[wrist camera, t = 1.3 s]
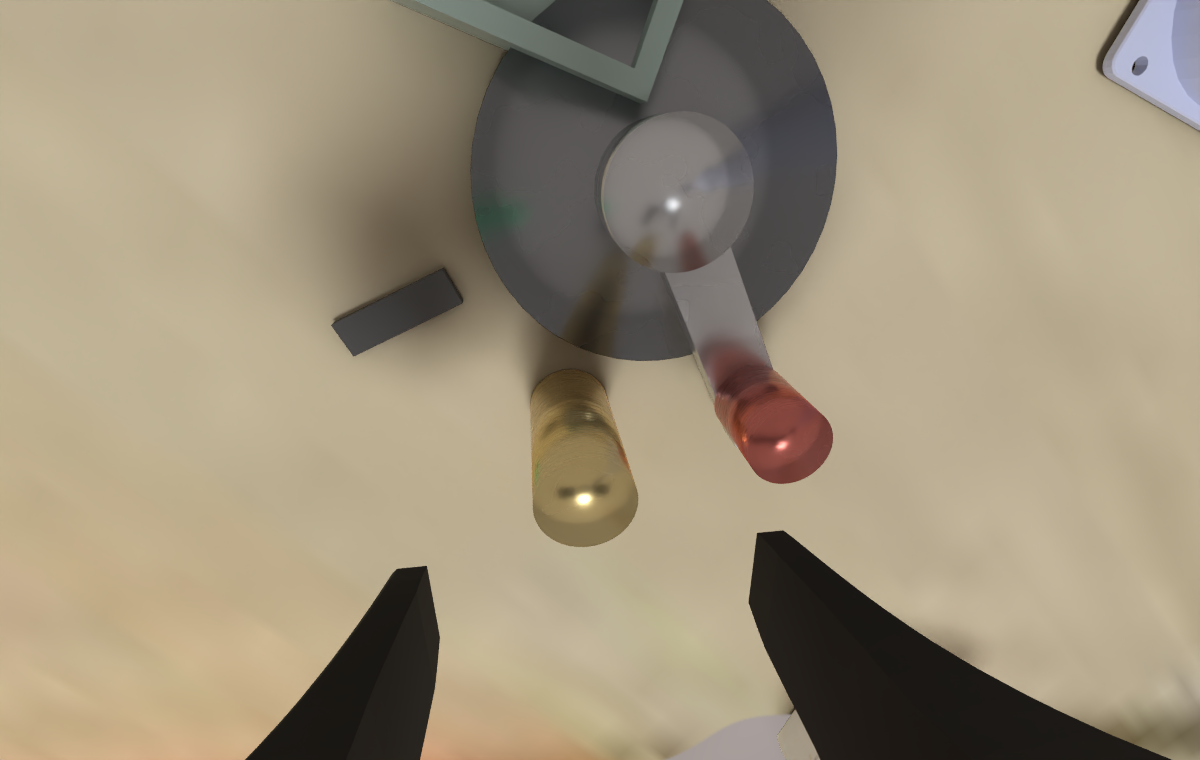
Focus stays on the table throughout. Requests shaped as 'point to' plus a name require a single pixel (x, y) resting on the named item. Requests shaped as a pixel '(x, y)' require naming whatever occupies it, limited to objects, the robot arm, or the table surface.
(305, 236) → the table surface
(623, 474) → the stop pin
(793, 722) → the ink cartridge box
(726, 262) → the crank
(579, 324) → the dark gray disc
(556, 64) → the tray
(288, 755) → the robot arm
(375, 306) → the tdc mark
